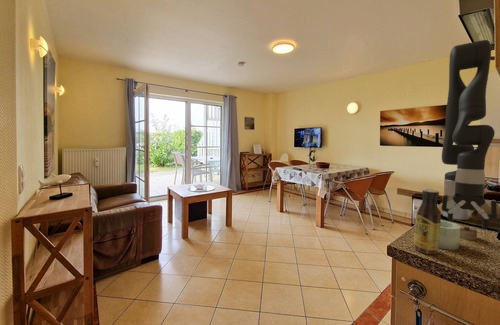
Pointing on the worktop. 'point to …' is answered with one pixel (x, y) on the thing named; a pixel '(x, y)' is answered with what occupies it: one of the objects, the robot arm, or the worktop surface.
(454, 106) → the robot arm
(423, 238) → the sauce bottle
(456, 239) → the jar
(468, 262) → the worktop surface
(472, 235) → the lid
